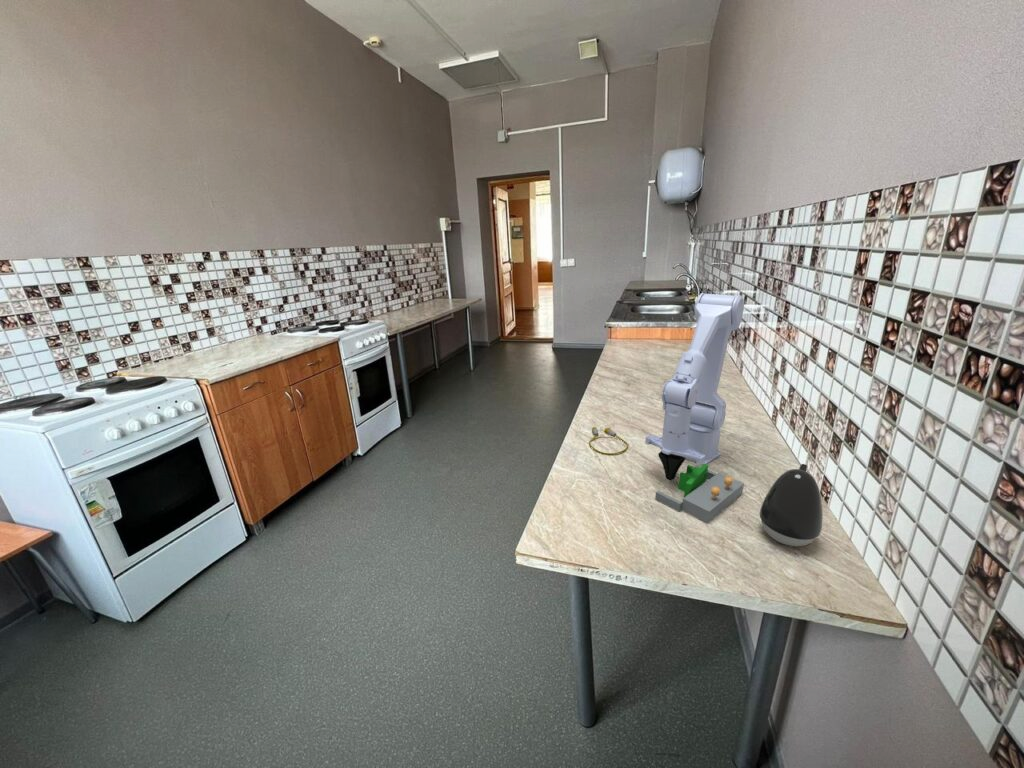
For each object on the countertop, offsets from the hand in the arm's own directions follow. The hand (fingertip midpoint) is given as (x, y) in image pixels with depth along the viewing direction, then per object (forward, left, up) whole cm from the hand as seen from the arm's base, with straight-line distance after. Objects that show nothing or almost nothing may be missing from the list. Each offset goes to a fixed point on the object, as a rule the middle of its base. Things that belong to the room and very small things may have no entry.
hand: (670, 478), depth 101 cm
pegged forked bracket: (0, +8, -1) cm, 8 cm away
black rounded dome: (0, +26, -1) cm, 26 cm away
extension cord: (-5, -24, -2) cm, 24 cm away
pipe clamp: (-2, +4, -1) cm, 5 cm away
